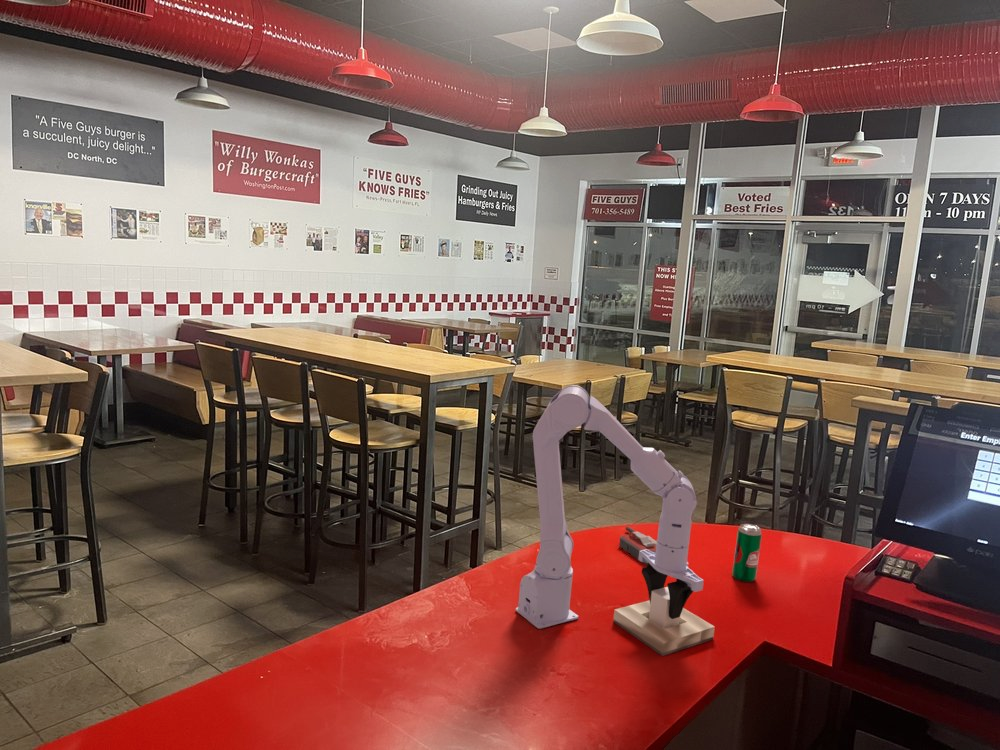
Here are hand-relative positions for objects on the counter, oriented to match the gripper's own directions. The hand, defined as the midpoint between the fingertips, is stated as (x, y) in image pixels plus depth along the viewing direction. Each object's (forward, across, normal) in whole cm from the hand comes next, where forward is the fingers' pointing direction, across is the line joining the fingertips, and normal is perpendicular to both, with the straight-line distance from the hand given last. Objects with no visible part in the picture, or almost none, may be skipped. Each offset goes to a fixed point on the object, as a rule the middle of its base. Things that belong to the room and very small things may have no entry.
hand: (664, 611), depth 135 cm
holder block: (+4, 0, 0) cm, 4 cm away
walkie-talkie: (+5, +31, -23) cm, 39 cm away
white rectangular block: (+3, 0, 0) cm, 4 cm away
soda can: (+4, +9, -34) cm, 35 cm away
